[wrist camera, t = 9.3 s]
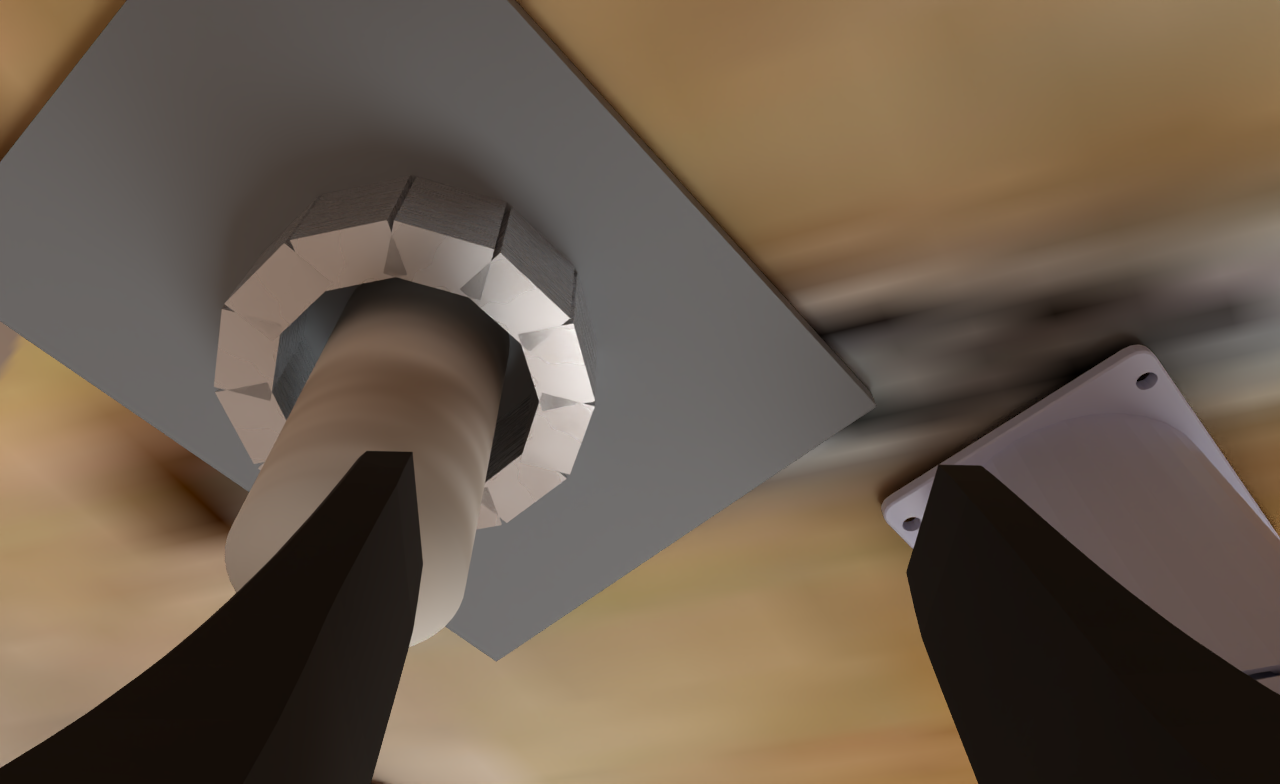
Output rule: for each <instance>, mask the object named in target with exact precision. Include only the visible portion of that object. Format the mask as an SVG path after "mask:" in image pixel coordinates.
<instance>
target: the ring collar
mask: <svg viewBox="0 0 1280 784" xmlns="http://www.w3.org/2000/svg"><path fill="white" fill-rule="evenodd" d="M506 203H507V202H504V201H500V200H497V199H494V198H490V197H487V196H484V195H480V194H477V193H474V192H470V191H467V190H464V189H460V188H457V187H454V186H450V185H447V184H444V183H440V182H437V181H434V180H430V179H427V178H423V177H420V176H416V178H415V180H414V182H413V181H412V178H411V175H409V176H404V177H400V178H395V179H390V180H386V181H381V182H376V183H371V184H367V185H362V186H357V187H352V188H348V189H343V190H338V191H333V192H329V193H324V194H323V195H322V196H321V198H319V197H317V198H316V199H315V200H314V201H313V202H312V203H311V204H310V205H309V206H308V207H307V208H306V209H305V210H304V211H303V212H302V213H301V214H300V215H299V216H298V217H297V218H296V219H295V220H294V221H293V222H292V223H291V224H290V225H289V226H288V228H287V229H286V230H285V231H284V232H283V233H282V234H281V235H280V236H279V237H278V238H277V239H276V240H275V241H274V242H273V243H272V244H271V245H270V246H269V247H268V248H267V249H266V250H265V251H264V252H263V253H262V254H261V256H260V257H259V258H258V260H257V261H256V262H255V264H254V265H253V266H252V268H251V269H250V270H249V272H248V273H247V274H246V276H245V277H244V278H243V280H242V281H241V282H240V284H239V285H238V286H237V287H236V289H235V290H234V291H233V293H232V294H231V295H230V297H229V298H228V299H227V301H226V302H225V303H224V304H225V305H224V307H223V308H222V312H221V322H220V332H219V341H218V351H217V361H216V370H215V380H214V387H216V388H217V390H216V392H215V393H216V395H217V397H218V399H219V401H220V403H221V404H222V406H223V408H224V410H225V412H226V414H227V415H228V417H229V419H230V421H231V423H232V425H233V426H234V428H235V430H236V432H237V434H238V436H239V438H240V439H241V441H242V443H243V445H244V447H245V449H246V450H247V452H248V454H249V456H250V458H251V460H252V461H253V463H254V464H257V463H260V465H259V467H258V469H259V470H261V469H262V467H263V465H264V463H265V461H266V459H267V457H268V455H269V453H270V451H271V450H272V448H273V446H274V444H275V442H276V440H277V438H278V436H279V434H280V432H281V430H282V428H283V426H284V424H285V422H286V421H287V419H288V417H289V415H290V413H291V411H292V409H293V407H294V405H295V403H296V401H297V399H298V397H299V395H300V393H301V392H302V390H303V388H304V386H305V384H306V382H307V380H308V378H309V376H310V374H311V372H312V370H313V368H314V366H315V364H316V363H317V362H316V360H315V358H314V356H313V354H312V351H311V349H310V347H309V345H308V343H307V341H306V338H305V336H304V332H305V326H306V319H307V313H308V307H309V306H310V305H311V304H312V303H313V302H314V301H315V300H316V299H318V298H319V297H320V296H321V295H322V294H323V293H324V292H325V291H328V290H333V289H338V288H343V287H348V286H353V285H358V284H363V283H368V282H373V281H378V280H383V279H388V278H393V277H397V278H401V279H405V280H408V281H412V282H415V283H419V284H423V285H426V286H430V287H433V288H437V289H441V290H444V291H448V292H451V293H455V294H459V295H462V296H466V297H469V298H470V299H471V300H472V301H473V302H475V303H476V304H477V305H478V306H479V307H480V308H481V309H482V310H483V311H485V312H486V313H487V314H488V315H489V316H490V317H491V318H492V319H494V320H495V321H496V322H497V323H498V324H499V325H500V326H501V327H502V328H504V329H505V330H506V331H507V332H508V333H509V334H510V335H511V336H513V337H514V338H515V339H516V340H517V341H518V342H519V343H520V344H521V346H522V349H523V352H524V355H525V358H526V361H527V364H528V367H529V371H530V374H531V377H532V380H533V383H534V386H533V389H532V392H531V394H530V395H529V396H528V397H527V398H525V399H524V400H523V401H522V402H520V403H519V404H518V405H517V406H515V407H514V408H513V409H512V410H510V411H509V412H508V413H507V414H505V415H504V416H503V417H502V418H500V419H499V420H498V421H497V422H496V427H495V432H494V437H493V443H492V448H491V453H490V459H489V464H488V469H487V475H486V480H485V486H484V491H483V496H482V502H481V507H480V512H479V518H478V523H477V528H476V529H482V528H488V527H494V526H499V525H502V521H503V520H504V521H505V522H506V523H508V522H509V521H510V520H512V519H513V518H514V517H516V516H517V515H518V514H520V513H521V512H522V511H524V510H525V509H526V508H528V507H529V506H531V505H532V504H533V503H535V502H536V501H537V500H539V499H540V498H541V497H543V496H544V495H545V494H547V493H548V492H549V491H551V490H552V489H553V488H555V487H556V486H558V485H559V484H560V483H562V482H563V481H564V480H566V479H567V474H569V475H570V473H571V470H572V467H573V465H574V462H575V459H576V457H577V454H578V451H579V448H580V446H581V443H582V440H583V437H584V435H585V432H586V429H587V427H588V424H589V421H590V418H591V416H592V413H593V410H594V407H595V389H596V360H597V342H596V339H595V335H594V331H593V327H592V324H591V320H590V316H589V312H588V309H587V305H586V301H585V297H584V294H583V290H582V286H581V282H580V279H579V275H578V271H577V272H574V268H575V266H574V265H573V264H572V263H571V262H570V261H569V260H568V259H566V258H565V257H564V256H563V255H562V254H561V253H560V252H559V251H558V250H557V249H556V248H555V247H554V246H553V245H552V244H551V243H550V242H549V241H548V240H547V239H546V238H545V237H544V236H543V235H542V234H541V233H540V232H539V231H538V230H537V229H536V228H535V227H534V226H533V225H532V224H531V223H530V222H529V221H527V220H526V219H525V218H524V217H523V216H522V215H521V214H520V213H519V212H518V211H517V210H516V209H515V208H514V207H513V206H511V207H510V208H509V209H508V210H507V211H506V212H505V213H504V211H505V207H506Z"/></svg>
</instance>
